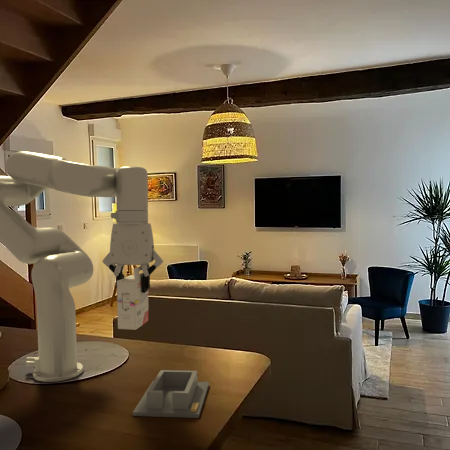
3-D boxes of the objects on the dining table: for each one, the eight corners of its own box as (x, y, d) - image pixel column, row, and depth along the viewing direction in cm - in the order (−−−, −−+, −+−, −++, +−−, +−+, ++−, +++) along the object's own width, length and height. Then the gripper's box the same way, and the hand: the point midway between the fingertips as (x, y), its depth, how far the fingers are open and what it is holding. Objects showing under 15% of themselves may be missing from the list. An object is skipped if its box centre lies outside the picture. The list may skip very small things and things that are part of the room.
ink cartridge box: (130, 320, 116) (130, 263, 116) (149, 321, 115) (148, 263, 115) (116, 329, 108) (115, 267, 107) (135, 330, 107) (135, 268, 106)
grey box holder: (132, 415, 95) (132, 395, 95) (153, 383, 112) (152, 366, 112) (198, 417, 94) (198, 397, 94) (208, 385, 111) (208, 368, 111)
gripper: (92, 218, 107) (93, 293, 108) (163, 218, 106) (163, 295, 107) (103, 217, 115) (104, 288, 116) (170, 217, 113) (170, 289, 114)
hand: (133, 290), depth 111 cm, fingers closed on ink cartridge box, 5 cm apart
